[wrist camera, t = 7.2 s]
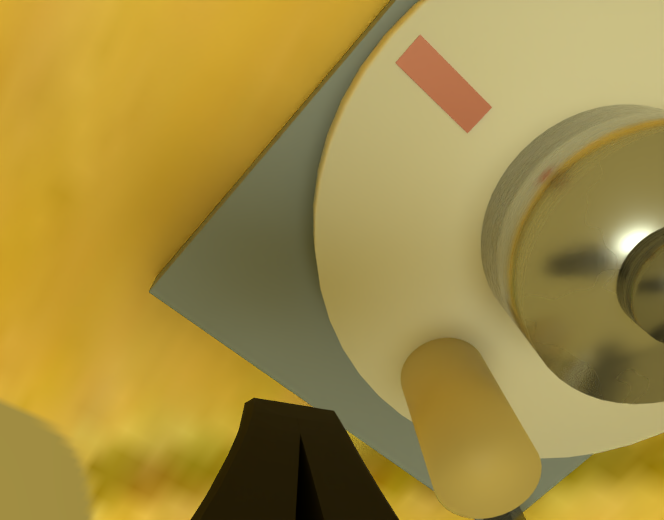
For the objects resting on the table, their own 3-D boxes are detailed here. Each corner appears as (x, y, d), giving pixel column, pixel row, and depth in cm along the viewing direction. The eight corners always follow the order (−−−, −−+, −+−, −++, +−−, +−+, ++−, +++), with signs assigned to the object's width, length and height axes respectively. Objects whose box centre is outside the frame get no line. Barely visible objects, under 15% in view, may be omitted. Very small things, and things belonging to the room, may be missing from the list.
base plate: (944, 128, 18) (979, 134, 17) (487, 513, 22) (495, 534, 21) (652, -310, 14) (679, -334, 13) (156, 278, 18) (148, 291, 17)
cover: (771, 215, 16) (913, 272, 12) (586, 379, 17) (664, 473, 14) (622, 45, 14) (738, 53, 10) (429, 246, 15) (471, 313, 12)
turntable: (913, 189, 17) (1176, 260, 12) (541, 497, 21) (624, 653, 15) (611, -230, 13) (820, -393, 8) (204, 244, 16) (167, 344, 11)
